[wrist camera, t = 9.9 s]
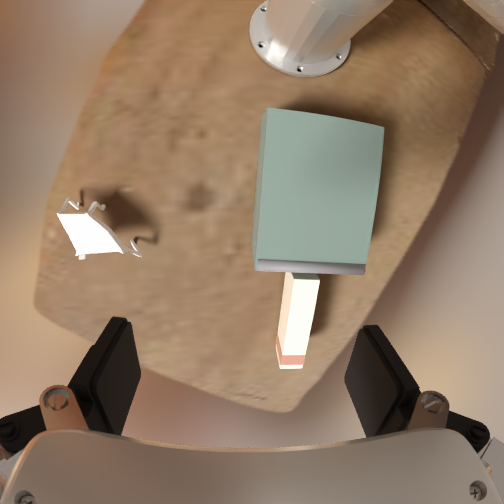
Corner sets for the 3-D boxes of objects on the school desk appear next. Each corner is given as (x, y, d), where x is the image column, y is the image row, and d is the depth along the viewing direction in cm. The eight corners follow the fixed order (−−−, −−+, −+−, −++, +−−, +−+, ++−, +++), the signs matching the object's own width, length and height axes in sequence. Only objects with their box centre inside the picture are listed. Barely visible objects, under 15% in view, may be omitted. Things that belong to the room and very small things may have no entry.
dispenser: (261, 117, 32) (268, 106, 24) (356, 130, 33) (387, 126, 25) (251, 247, 37) (255, 272, 29) (341, 252, 38) (365, 276, 30)
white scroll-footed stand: (70, 249, 36) (52, 261, 31) (74, 191, 33) (54, 197, 29) (144, 268, 37) (133, 284, 33) (153, 207, 35) (141, 216, 30)
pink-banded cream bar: (286, 262, 37) (293, 279, 32) (310, 263, 37) (320, 280, 32) (275, 346, 41) (279, 368, 36) (296, 346, 41) (302, 368, 36)
